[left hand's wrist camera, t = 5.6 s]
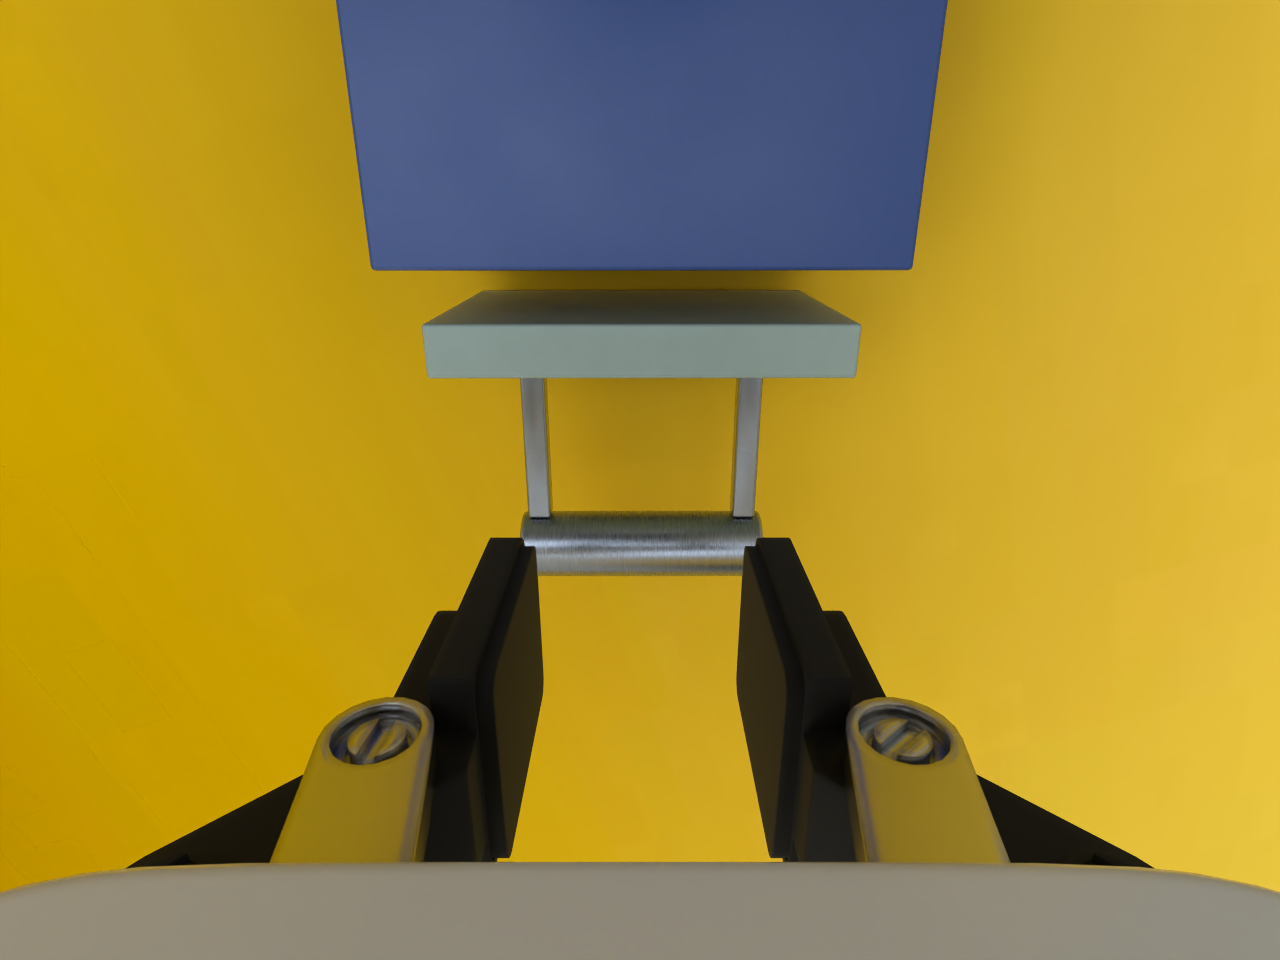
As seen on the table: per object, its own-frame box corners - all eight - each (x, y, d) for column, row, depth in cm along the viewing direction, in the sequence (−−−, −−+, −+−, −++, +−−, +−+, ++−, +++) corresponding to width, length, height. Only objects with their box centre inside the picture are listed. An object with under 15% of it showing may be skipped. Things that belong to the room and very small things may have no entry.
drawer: (782, 512, 24) (830, 616, 18) (499, 512, 24) (453, 616, 18) (837, -192, 17) (943, -403, 11) (444, -192, 17) (340, -402, 11)
